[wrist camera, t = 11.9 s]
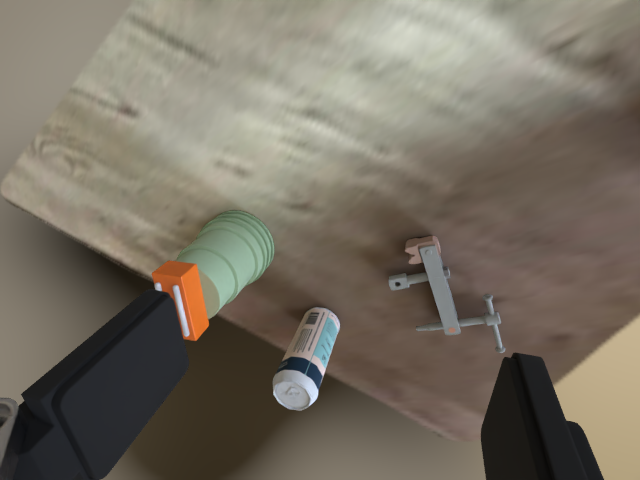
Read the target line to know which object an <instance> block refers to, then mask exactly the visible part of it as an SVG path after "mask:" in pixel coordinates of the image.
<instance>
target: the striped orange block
mask: <svg viewBox="0 0 640 480" xmlns="http://www.w3.org/2000/svg"><path fill="white" fill-rule="evenodd" d="M152 277H153V280H154V284H155V290H158V291H164V292H168V293H169V294H170V296H171V298H173V299H174V302H175V306H176V310H177V314H178V318H179V322H180V327H181V331H182V335H183V339H188V340H193V341H196V340H197V339H198V338H199V336H200V335H201V334H202V333H203V332H204V331H205V329H206V328H207V327H208V326H209V322H208V317H207V312H206V307H205V302H204V297H203V293H202V288H201V283H200V278H199V273H198V268H197V264H194V263H186V262H177V261H167V262H166V263H165V264H163V265H162V266H161V267H159V268H158V269H157V270H155V271H154V272H153V273H152Z"/></svg>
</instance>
